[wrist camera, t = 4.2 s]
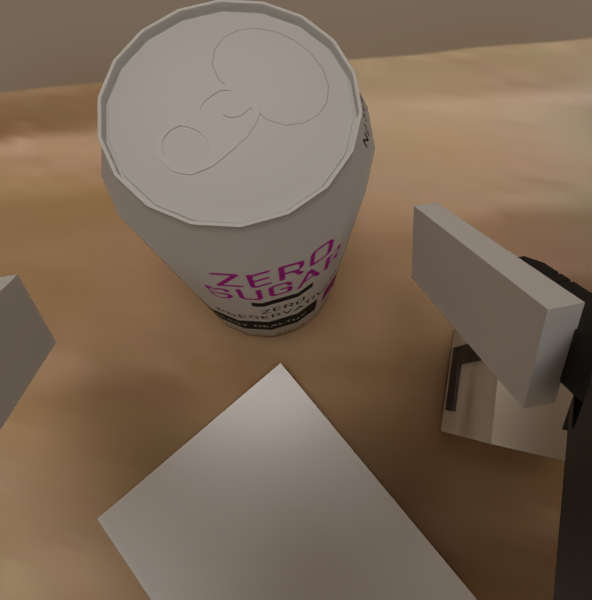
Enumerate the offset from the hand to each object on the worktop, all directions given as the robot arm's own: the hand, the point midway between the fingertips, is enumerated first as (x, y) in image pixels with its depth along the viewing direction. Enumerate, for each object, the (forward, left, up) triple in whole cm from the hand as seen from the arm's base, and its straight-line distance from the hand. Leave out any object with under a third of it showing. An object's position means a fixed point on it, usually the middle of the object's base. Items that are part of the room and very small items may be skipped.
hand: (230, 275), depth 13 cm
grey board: (-10, +6, -11) cm, 16 cm away
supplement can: (+2, -3, -11) cm, 12 cm away
